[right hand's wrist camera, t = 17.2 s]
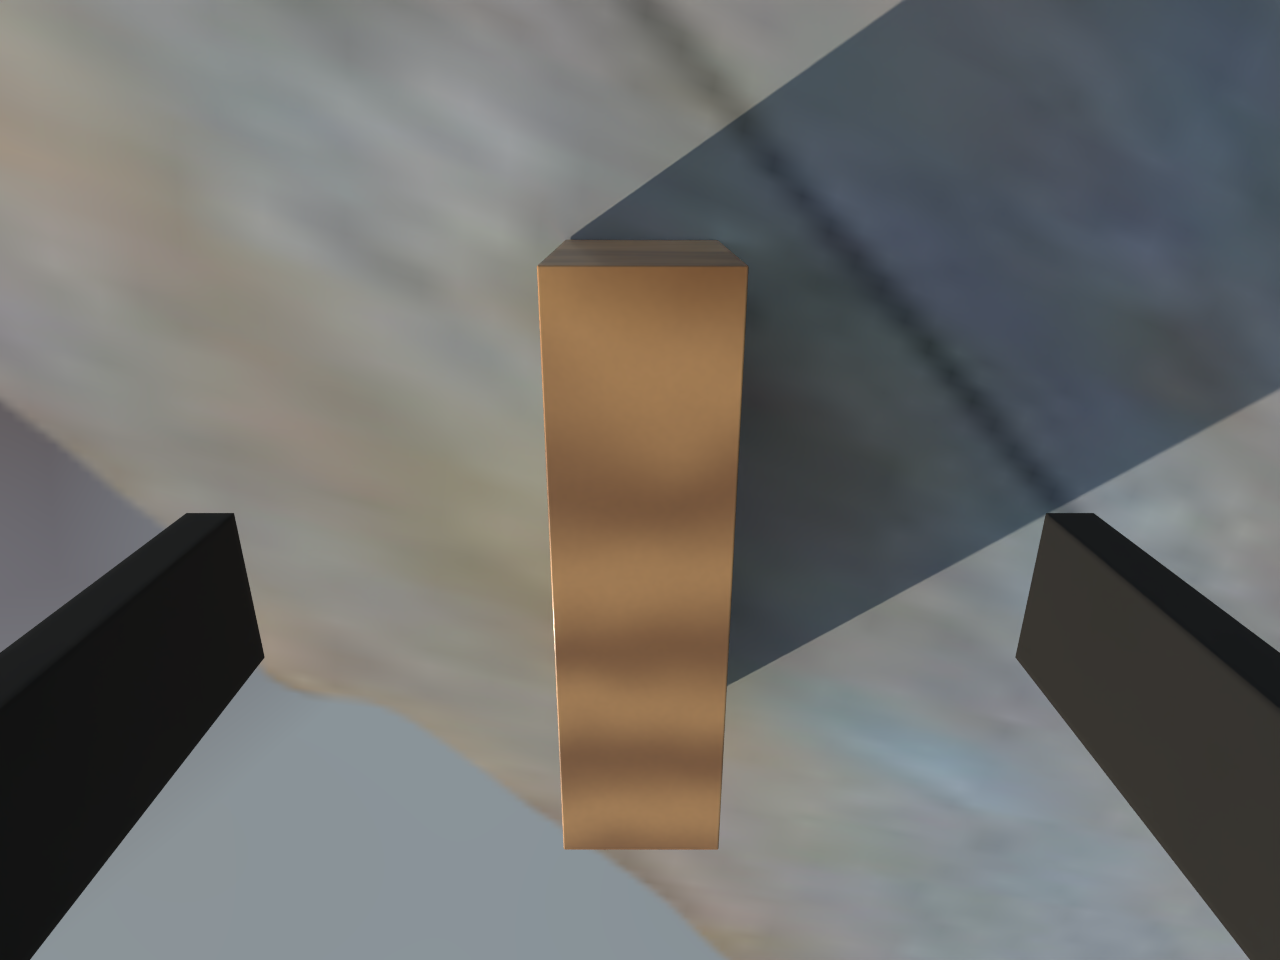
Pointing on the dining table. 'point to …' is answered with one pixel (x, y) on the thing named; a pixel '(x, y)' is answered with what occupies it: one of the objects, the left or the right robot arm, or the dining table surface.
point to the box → (641, 530)
